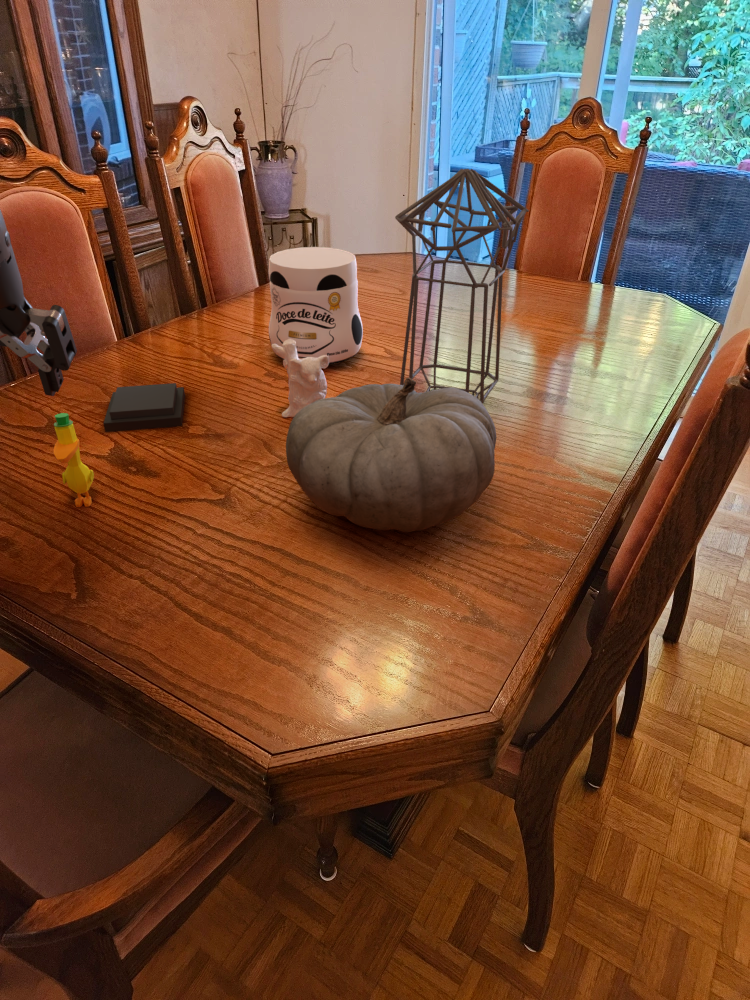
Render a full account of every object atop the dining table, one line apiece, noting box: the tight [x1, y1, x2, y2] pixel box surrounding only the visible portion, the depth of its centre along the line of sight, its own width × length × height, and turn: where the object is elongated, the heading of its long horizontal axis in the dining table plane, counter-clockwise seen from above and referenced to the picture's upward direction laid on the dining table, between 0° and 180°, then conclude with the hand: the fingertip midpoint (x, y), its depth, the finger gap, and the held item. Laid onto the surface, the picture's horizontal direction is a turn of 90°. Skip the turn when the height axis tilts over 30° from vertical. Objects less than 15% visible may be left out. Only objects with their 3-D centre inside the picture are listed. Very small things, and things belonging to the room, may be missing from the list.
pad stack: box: [102, 382, 186, 433], centre depth 103 cm, size 11×11×4 cm
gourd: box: [285, 377, 497, 533], centre depth 80 cm, size 25×25×17 cm
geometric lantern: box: [394, 168, 530, 404], centre depth 97 cm, size 16×16×35 cm
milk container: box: [268, 246, 364, 366], centre depth 120 cm, size 17×17×18 cm
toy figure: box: [53, 412, 95, 508], centre depth 81 cm, size 7×4×12 cm, turn 10°
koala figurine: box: [271, 339, 330, 418], centre depth 102 cm, size 8×7×12 cm
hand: (10, 382), depth 68 cm, fingers open, 8 cm apart
